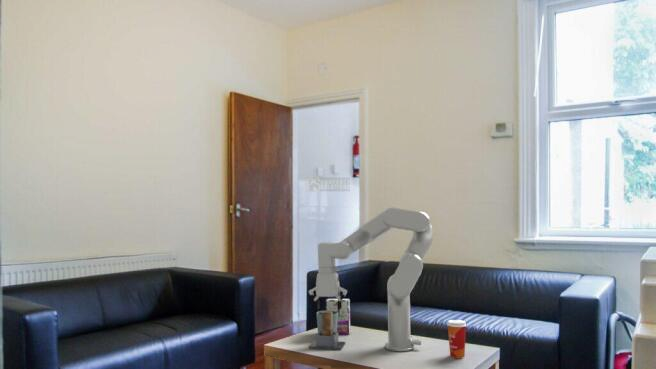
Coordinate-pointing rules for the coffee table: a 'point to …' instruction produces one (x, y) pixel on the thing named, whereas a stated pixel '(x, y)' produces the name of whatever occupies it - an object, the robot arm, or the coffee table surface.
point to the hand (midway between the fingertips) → (328, 309)
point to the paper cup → (457, 338)
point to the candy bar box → (341, 315)
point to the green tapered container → (319, 321)
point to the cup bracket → (327, 342)
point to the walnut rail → (327, 323)
